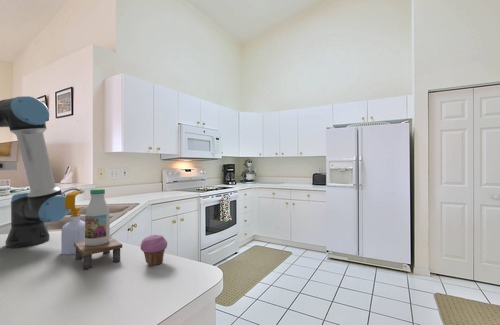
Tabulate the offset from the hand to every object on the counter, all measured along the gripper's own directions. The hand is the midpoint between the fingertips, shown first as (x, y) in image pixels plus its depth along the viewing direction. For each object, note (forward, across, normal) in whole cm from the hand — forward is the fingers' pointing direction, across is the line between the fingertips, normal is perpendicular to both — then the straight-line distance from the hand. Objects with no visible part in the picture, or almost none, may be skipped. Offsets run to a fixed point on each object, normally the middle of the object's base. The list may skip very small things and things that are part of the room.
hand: (16, 166), depth 88 cm
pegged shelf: (+22, +17, -35) cm, 45 cm away
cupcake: (+35, +36, -35) cm, 61 cm away
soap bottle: (+18, -1, -35) cm, 39 cm away
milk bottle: (+22, +17, -29) cm, 40 cm away
